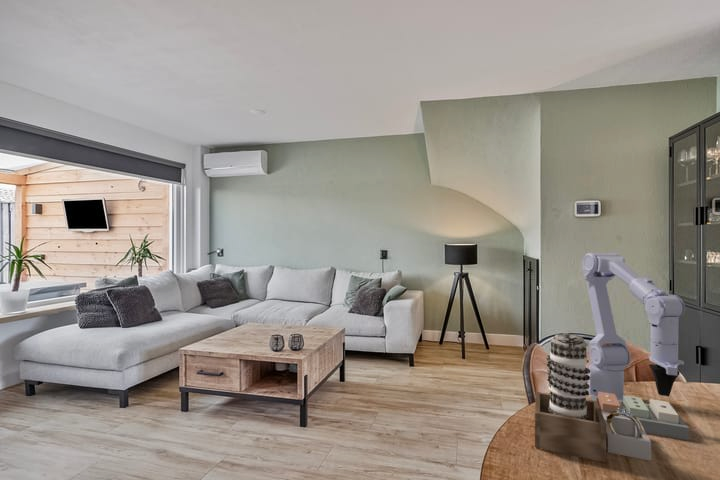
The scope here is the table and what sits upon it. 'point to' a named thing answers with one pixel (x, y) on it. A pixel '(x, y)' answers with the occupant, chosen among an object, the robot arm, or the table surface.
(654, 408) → the tile one cream
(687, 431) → the button board
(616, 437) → the bracelet dish
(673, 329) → the robot arm
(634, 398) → the tile three sage
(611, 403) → the tile two terracotta
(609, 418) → the ring
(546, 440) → the box
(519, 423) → the table surface
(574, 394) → the decorative candle
